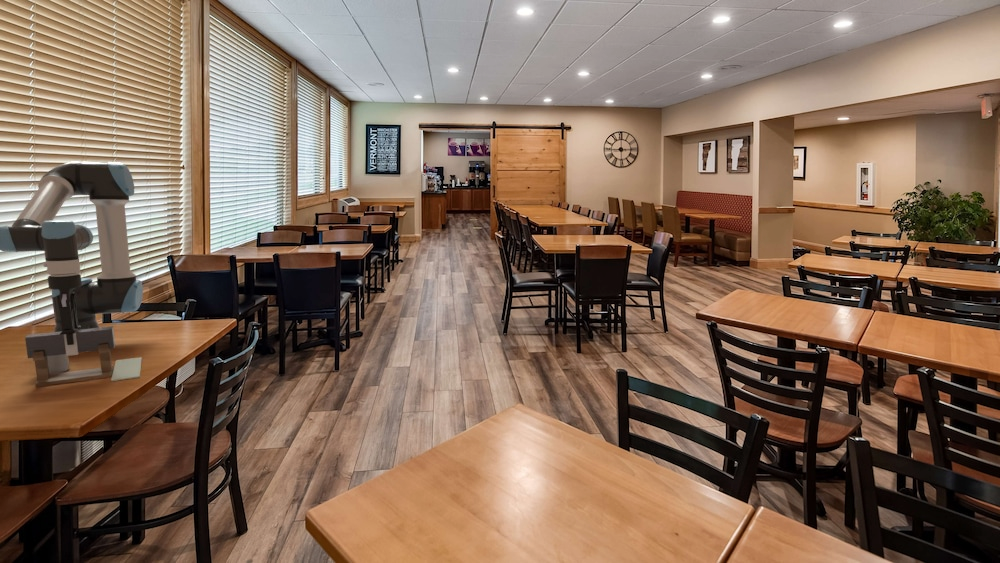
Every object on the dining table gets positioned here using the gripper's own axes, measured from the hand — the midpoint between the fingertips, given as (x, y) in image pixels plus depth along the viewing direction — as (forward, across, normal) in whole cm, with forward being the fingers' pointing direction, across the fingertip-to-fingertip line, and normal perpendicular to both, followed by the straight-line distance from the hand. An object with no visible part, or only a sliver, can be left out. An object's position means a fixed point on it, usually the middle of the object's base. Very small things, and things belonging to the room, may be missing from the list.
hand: (73, 352), depth 161 cm
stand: (+8, 0, 0) cm, 8 cm away
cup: (+8, -12, -7) cm, 16 cm away
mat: (+8, -2, +12) cm, 15 cm away
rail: (0, 0, 0) cm, 0 cm away
